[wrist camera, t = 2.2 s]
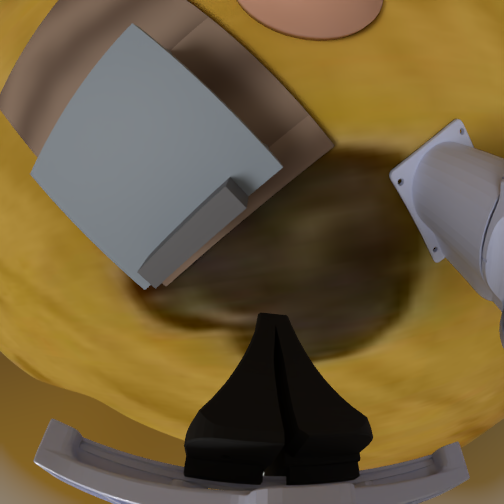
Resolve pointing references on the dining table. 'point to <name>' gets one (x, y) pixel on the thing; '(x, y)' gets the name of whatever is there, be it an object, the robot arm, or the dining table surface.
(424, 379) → the dining table surface
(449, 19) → the dining table surface
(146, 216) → the grey miniature stool
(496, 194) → the robot arm
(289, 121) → the puzzle board
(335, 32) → the dish
